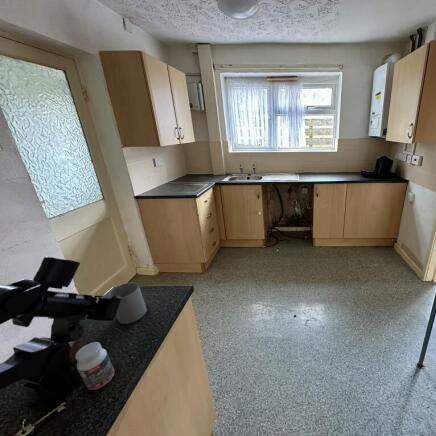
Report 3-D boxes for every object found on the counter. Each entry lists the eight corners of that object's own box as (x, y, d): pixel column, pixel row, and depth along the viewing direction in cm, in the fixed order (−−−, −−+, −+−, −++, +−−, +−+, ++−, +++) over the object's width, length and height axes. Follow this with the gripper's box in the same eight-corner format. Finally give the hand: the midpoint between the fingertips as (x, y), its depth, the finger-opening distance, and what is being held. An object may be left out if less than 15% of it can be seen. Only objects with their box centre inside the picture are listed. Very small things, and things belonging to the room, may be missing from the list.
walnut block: (73, 363, 64) (66, 351, 62) (55, 365, 64) (49, 353, 62) (84, 348, 68) (79, 337, 67) (68, 350, 68) (62, 339, 66)
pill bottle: (97, 393, 56) (82, 364, 53) (81, 386, 58) (65, 358, 54) (120, 371, 61) (108, 343, 58) (105, 365, 63) (91, 337, 59)
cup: (132, 325, 76) (123, 300, 72) (111, 322, 77) (101, 297, 74) (152, 306, 83) (144, 283, 80) (132, 304, 85) (124, 281, 81)
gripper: (4, 339, 54) (70, 336, 68) (76, 345, 52) (128, 340, 66) (28, 289, 59) (85, 296, 73) (95, 292, 56) (140, 298, 71)
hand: (109, 308), depth 71 cm, fingers closed
